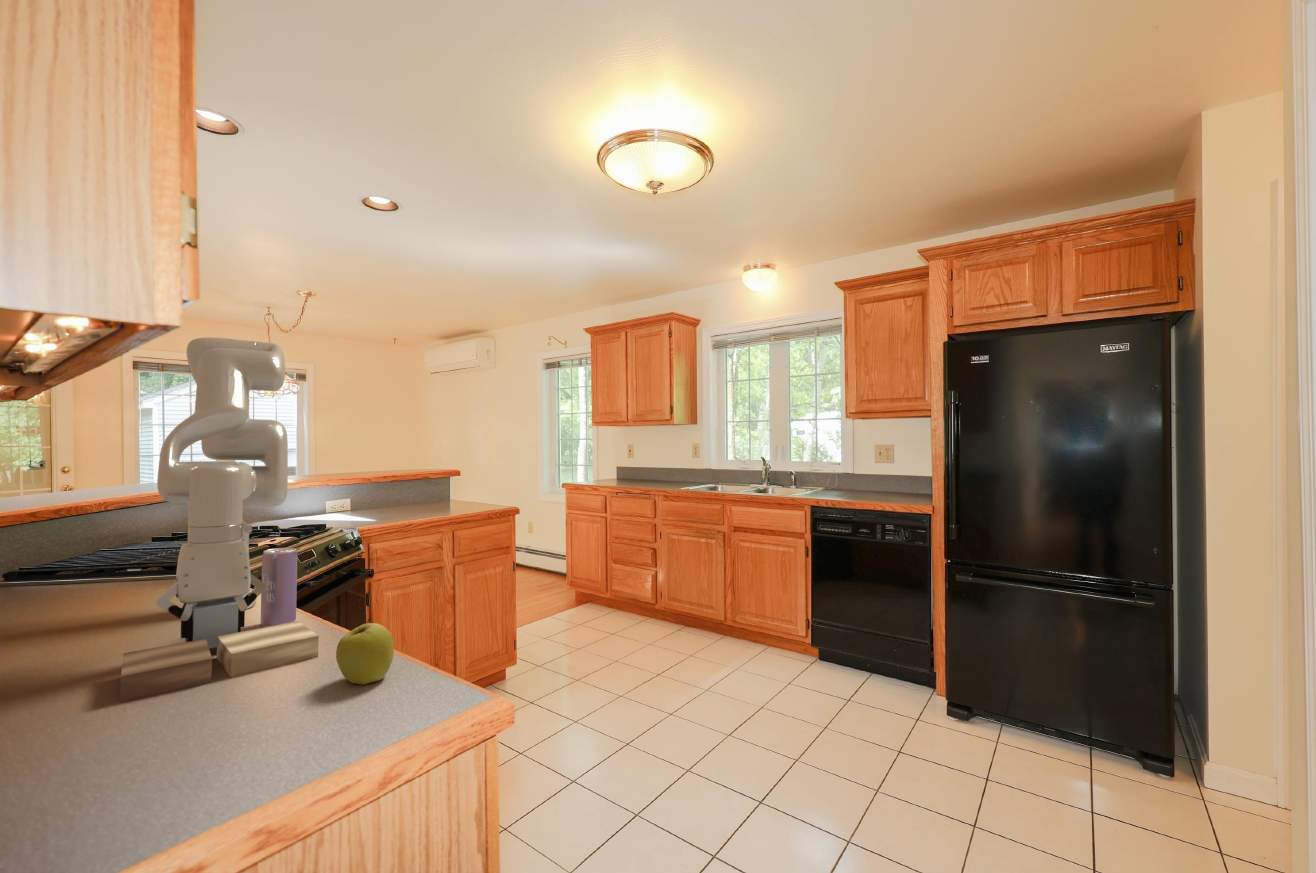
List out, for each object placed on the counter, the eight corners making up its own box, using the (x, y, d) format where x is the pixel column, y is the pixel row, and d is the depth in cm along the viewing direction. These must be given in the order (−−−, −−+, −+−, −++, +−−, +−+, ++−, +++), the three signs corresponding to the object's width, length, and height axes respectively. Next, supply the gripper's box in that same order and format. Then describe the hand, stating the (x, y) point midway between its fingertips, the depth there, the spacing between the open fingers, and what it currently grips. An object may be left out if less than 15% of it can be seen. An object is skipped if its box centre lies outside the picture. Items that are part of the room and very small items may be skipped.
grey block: (188, 642, 99) (189, 602, 99) (230, 633, 103) (231, 595, 103) (193, 651, 94) (194, 609, 94) (237, 642, 99) (238, 602, 99)
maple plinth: (216, 659, 95) (217, 636, 95) (298, 642, 104) (298, 620, 104) (231, 679, 87) (231, 653, 87) (318, 659, 96) (318, 635, 96)
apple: (402, 658, 92) (397, 605, 89) (387, 692, 85) (382, 635, 82) (350, 661, 91) (343, 607, 88) (330, 696, 83) (323, 639, 81)
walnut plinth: (122, 679, 87) (123, 653, 87) (205, 662, 94) (205, 638, 94) (120, 705, 78) (120, 676, 78) (211, 684, 85) (212, 658, 85)
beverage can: (302, 620, 116) (304, 547, 117) (280, 629, 110) (282, 552, 111) (276, 619, 117) (277, 547, 117) (252, 628, 111) (254, 552, 111)
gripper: (268, 526, 108) (266, 620, 108) (147, 537, 95) (144, 643, 95) (278, 531, 102) (276, 630, 102) (152, 543, 90) (149, 655, 90)
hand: (213, 635), depth 99 cm, fingers closed on grey block, 6 cm apart
